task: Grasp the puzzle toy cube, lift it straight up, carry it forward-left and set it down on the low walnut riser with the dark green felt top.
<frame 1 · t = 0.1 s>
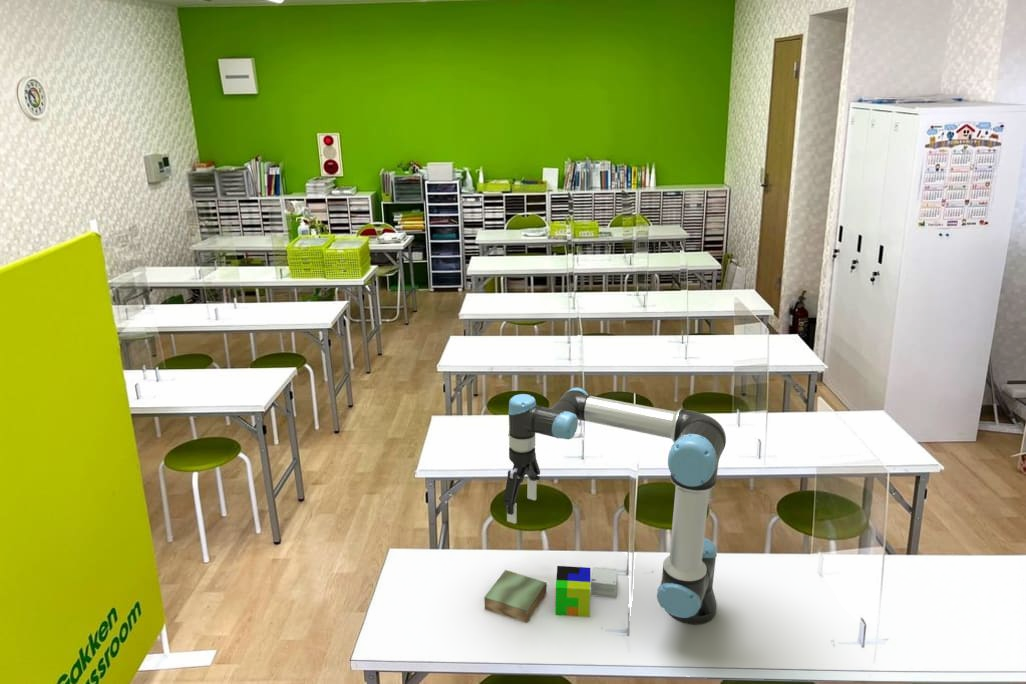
hand: (522, 510, 227), 28 cm above the table, fingers open, 13 cm apart
riser: (515, 601, 231), on the table
small box: (604, 589, 237), on the table
puzzle toy: (572, 605, 230), on the table
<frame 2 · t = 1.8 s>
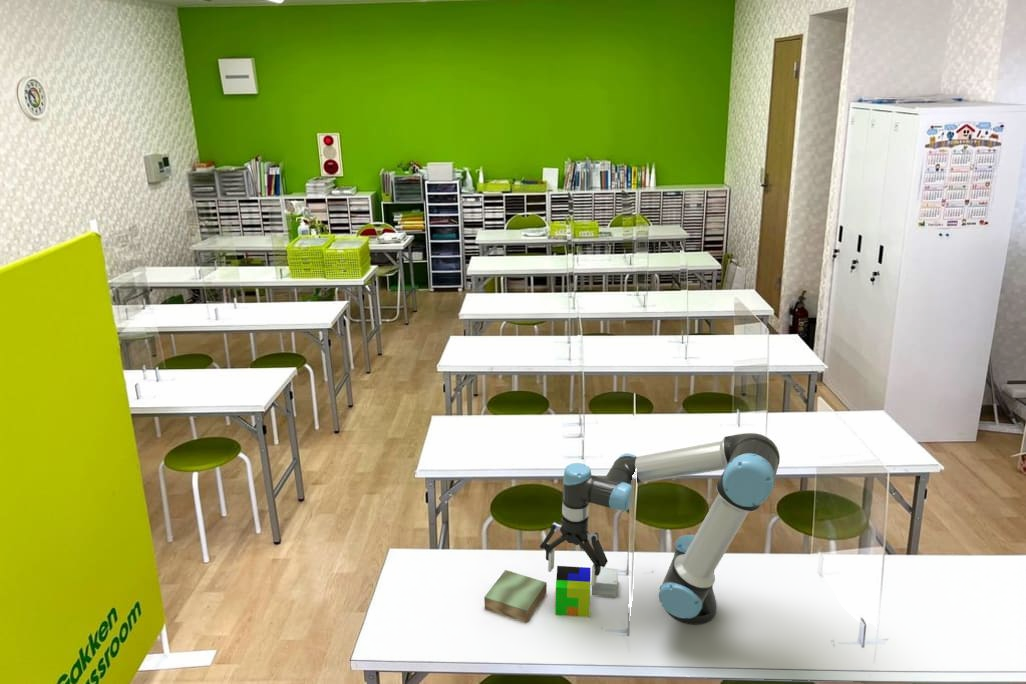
hand: (572, 576, 226), 10 cm above the table, fingers open, 13 cm apart
nothing on the table moved.
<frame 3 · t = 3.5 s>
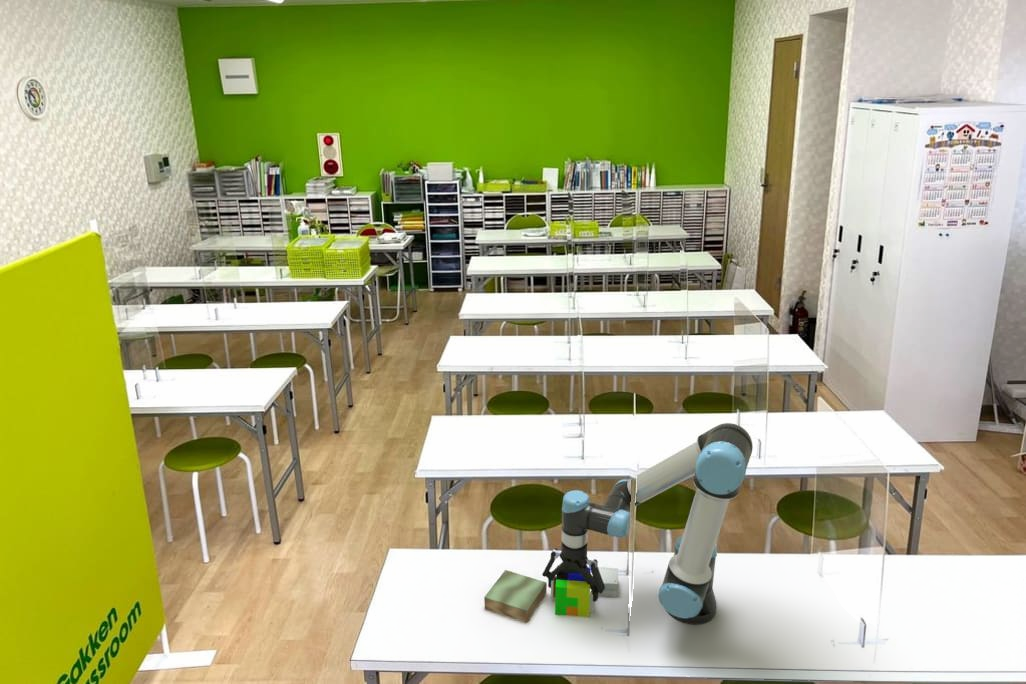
hand: (572, 602, 229), 1 cm above the table, fingers closed on puzzle toy, 12 cm apart
puzzle toy: (572, 605, 230), on the table, touching gripper
everything else where it was.
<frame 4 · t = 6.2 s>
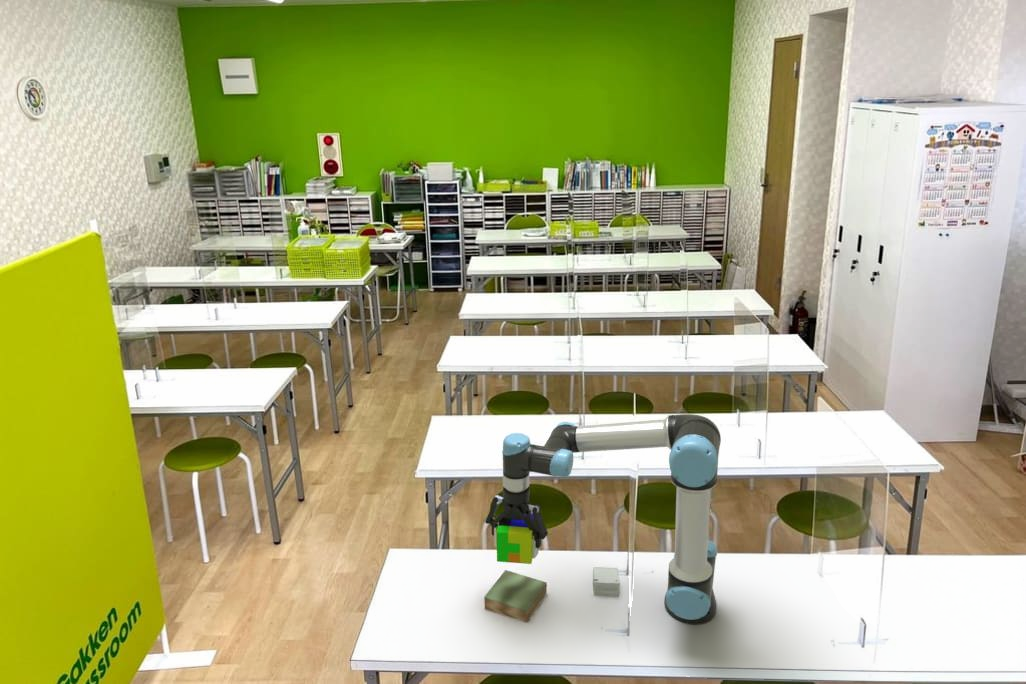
hand: (516, 550, 225), 18 cm above the table, fingers closed on puzzle toy, 12 cm apart
puzzle toy: (516, 552, 225), point 17 cm above the table, touching gripper
everything else where it was.
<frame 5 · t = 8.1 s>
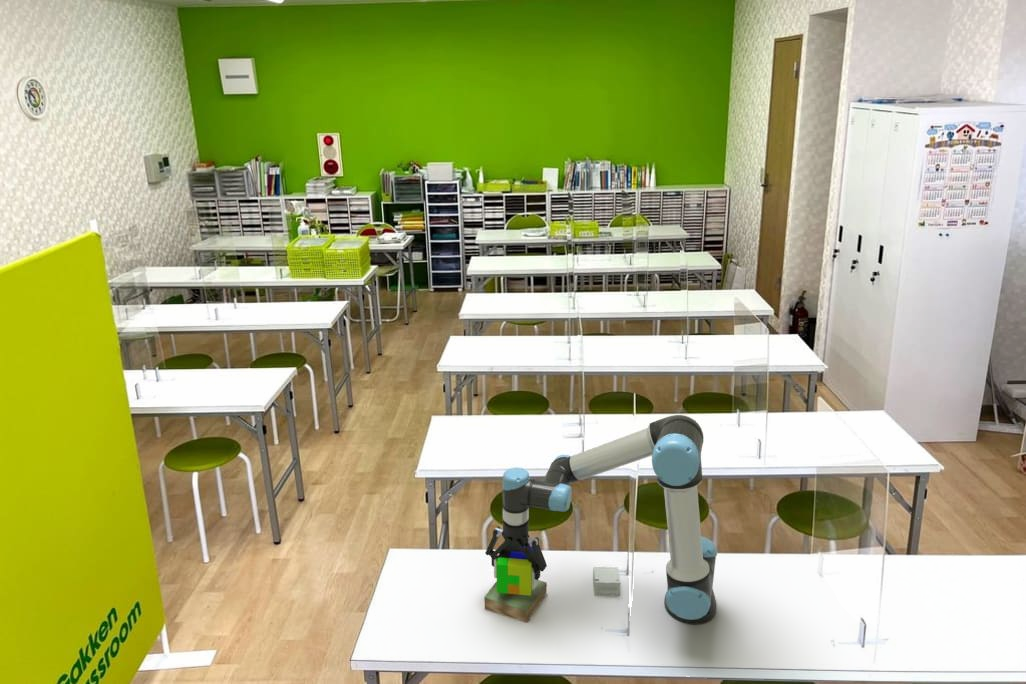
hand: (515, 581, 229), 7 cm above the table, fingers closed on puzzle toy, 12 cm apart
puzzle toy: (515, 583, 229), point 6 cm above the table, touching gripper
everything else where it was.
when the fingers open (6 cm above the table, at t = 9.5 s): puzzle toy drops 1 cm, resting on riser.
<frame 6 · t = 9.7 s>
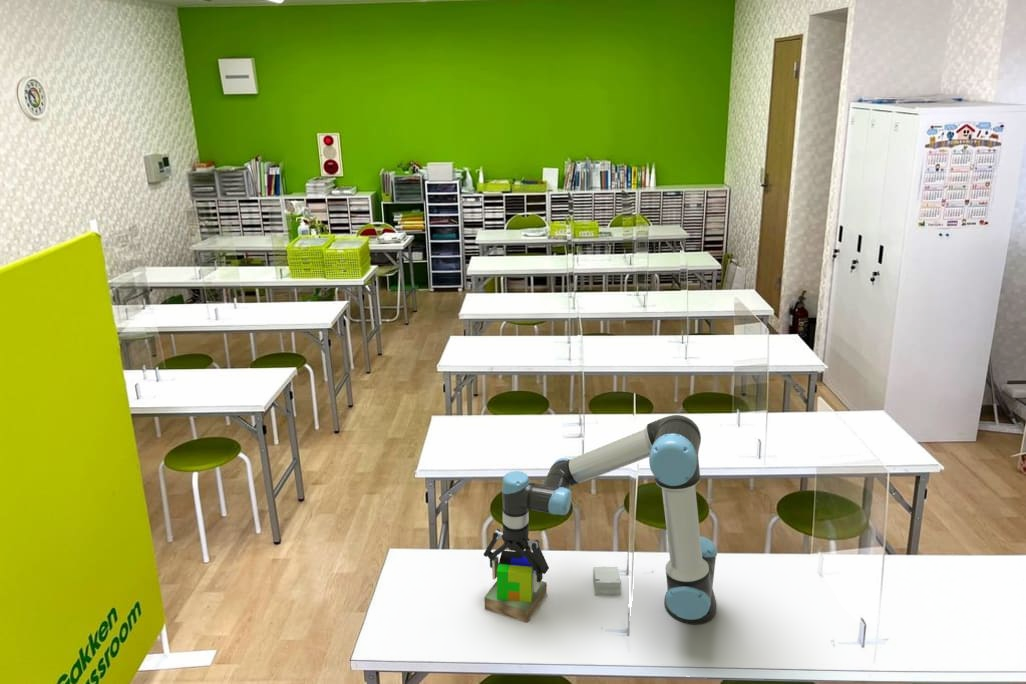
hand: (515, 583, 229), 7 cm above the table, fingers open, 13 cm apart
puzzle toy: (516, 590, 230), point 4 cm above the table, touching riser
everything else where it was.
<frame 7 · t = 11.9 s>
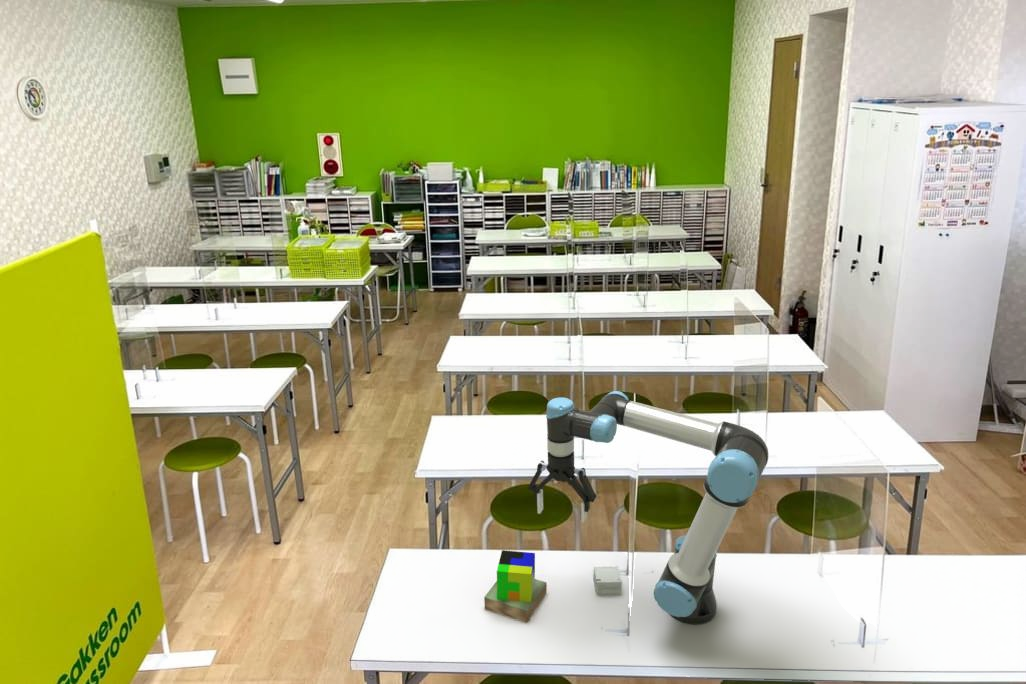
hand: (562, 515, 224), 28 cm above the table, fingers open, 13 cm apart
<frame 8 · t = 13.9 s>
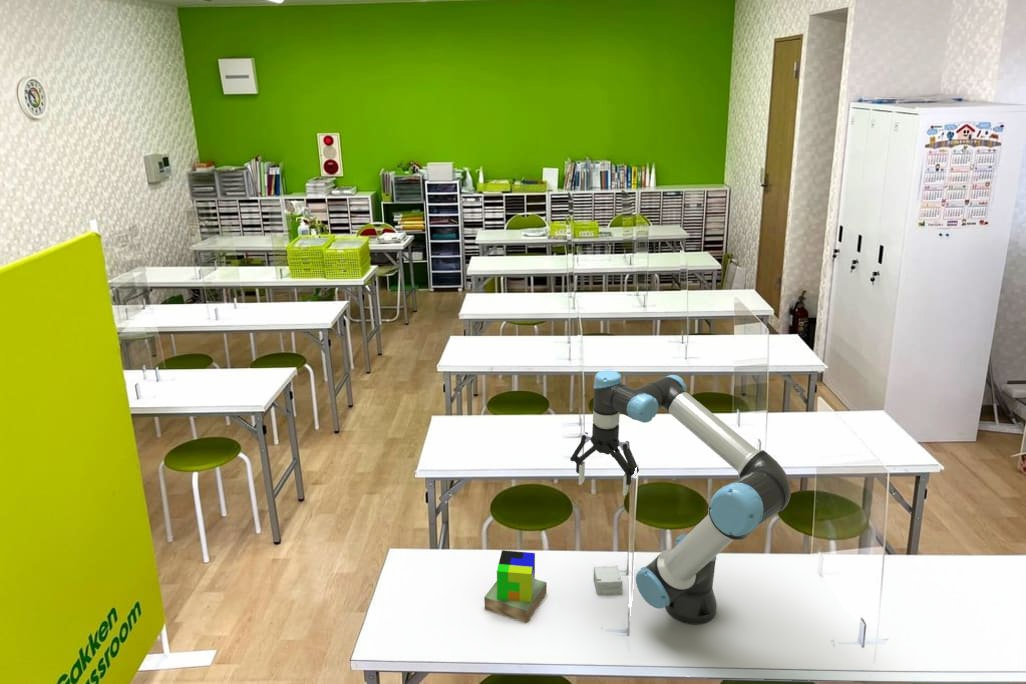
hand: (603, 488, 226), 35 cm above the table, fingers open, 13 cm apart
at the end: puzzle toy inside the target area on the riser (0.1 cm from its centre), point 4.1 cm above the riser's base; puzzle toy tilted 0°; the gripper is holding nothing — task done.
